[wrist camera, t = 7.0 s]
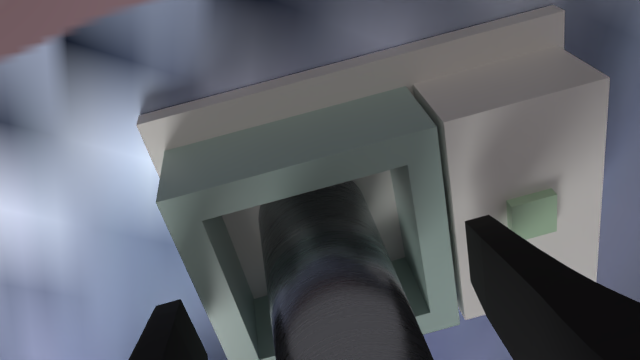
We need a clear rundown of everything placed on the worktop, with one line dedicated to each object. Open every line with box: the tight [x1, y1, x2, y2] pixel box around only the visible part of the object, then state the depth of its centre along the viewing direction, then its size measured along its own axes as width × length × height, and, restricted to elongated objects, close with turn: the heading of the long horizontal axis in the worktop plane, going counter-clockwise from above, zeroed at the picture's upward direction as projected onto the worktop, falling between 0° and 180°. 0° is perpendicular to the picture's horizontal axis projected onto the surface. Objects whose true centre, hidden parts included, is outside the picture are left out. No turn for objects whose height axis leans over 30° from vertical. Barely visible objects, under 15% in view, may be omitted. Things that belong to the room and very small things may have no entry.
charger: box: [137, 5, 610, 360], centre depth 16 cm, size 11×8×3 cm
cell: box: [258, 180, 433, 360], centre depth 14 cm, size 3×3×8 cm
